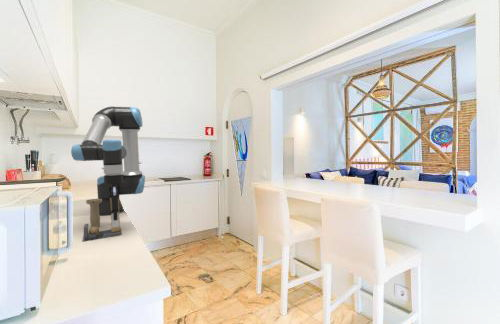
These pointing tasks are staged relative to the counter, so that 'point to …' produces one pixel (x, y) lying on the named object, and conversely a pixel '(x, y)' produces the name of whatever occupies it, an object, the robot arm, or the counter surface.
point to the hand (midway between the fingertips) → (115, 225)
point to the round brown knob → (94, 230)
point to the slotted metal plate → (101, 234)
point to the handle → (94, 212)
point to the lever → (115, 229)
